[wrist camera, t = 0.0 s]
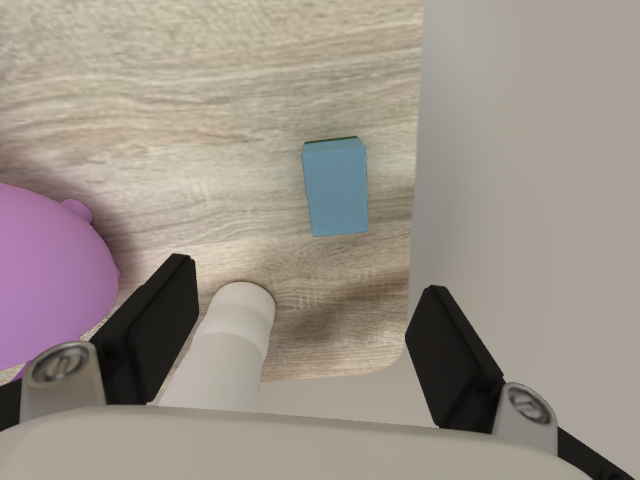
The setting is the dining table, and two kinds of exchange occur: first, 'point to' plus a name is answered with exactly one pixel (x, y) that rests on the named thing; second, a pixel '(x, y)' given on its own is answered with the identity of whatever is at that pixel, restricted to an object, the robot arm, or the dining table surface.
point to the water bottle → (225, 353)
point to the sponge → (336, 185)
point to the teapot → (49, 274)
